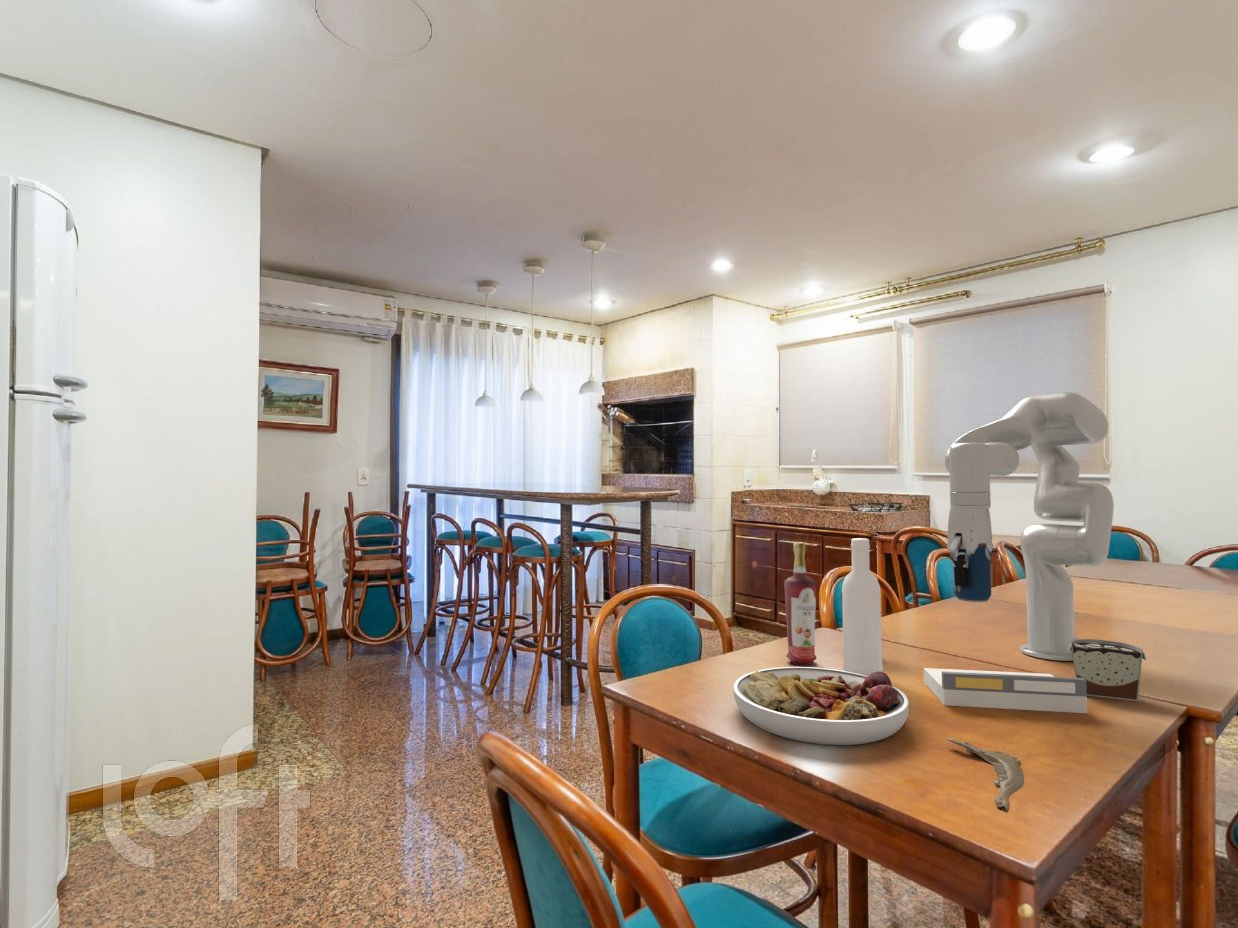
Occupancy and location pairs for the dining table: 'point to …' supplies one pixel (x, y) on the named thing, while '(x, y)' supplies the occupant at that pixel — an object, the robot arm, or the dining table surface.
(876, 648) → the bottle
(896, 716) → the bowl
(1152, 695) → the dining table surface
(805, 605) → the liquor
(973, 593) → the soda can
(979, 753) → the jawbone
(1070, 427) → the robot arm
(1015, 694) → the display shelf
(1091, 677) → the food container
